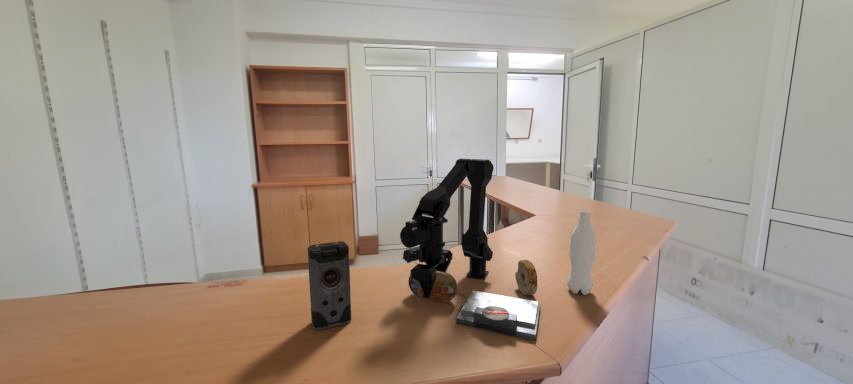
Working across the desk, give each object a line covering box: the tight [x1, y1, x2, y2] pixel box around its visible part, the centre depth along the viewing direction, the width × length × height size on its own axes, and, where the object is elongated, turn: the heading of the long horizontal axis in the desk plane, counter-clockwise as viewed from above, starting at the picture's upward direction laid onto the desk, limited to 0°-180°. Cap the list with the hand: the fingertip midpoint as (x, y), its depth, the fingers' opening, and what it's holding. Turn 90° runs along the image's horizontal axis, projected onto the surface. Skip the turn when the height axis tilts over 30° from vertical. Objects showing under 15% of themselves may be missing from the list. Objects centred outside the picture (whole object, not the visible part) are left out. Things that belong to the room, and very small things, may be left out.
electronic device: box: [307, 240, 352, 331], centre depth 82 cm, size 9×6×20 cm, turn 117°
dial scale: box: [455, 290, 541, 342], centre depth 85 cm, size 18×19×4 cm
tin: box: [408, 271, 458, 304], centre depth 96 cm, size 15×3×8 cm, turn 62°
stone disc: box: [514, 259, 538, 296], centre depth 99 cm, size 10×4×10 cm, turn 5°
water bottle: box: [566, 210, 597, 296], centre depth 99 cm, size 7×7×25 cm
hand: (432, 291), depth 96 cm, fingers open, 9 cm apart
